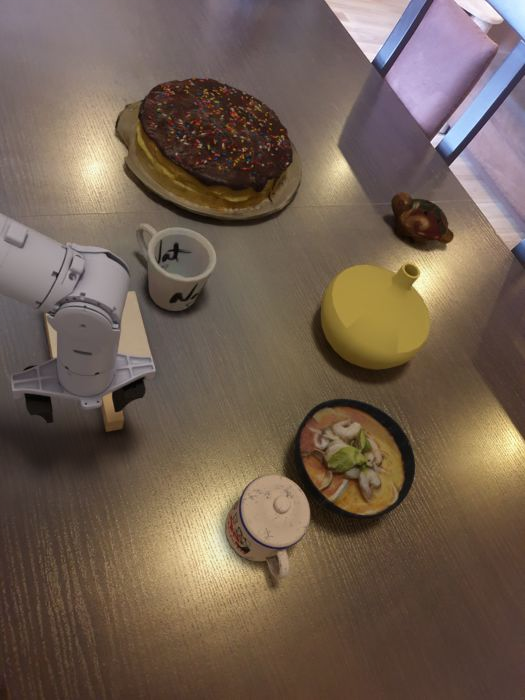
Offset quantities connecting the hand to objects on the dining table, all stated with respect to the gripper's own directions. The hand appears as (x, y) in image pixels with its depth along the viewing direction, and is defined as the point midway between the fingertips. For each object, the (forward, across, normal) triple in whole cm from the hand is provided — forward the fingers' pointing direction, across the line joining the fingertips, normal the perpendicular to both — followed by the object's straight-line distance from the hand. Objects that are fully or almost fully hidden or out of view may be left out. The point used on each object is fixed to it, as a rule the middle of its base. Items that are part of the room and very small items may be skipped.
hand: (83, 409), depth 67 cm
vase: (+11, +48, +10) cm, 50 cm away
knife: (+10, +5, +10) cm, 15 cm away
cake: (+11, +34, +55) cm, 66 cm away
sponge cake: (+10, +4, +15) cm, 19 cm away
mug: (+11, +17, +25) cm, 32 cm away
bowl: (+11, +34, -12) cm, 38 cm away
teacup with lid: (+11, +20, -18) cm, 29 cm away
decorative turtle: (+11, +72, +33) cm, 80 cm away
